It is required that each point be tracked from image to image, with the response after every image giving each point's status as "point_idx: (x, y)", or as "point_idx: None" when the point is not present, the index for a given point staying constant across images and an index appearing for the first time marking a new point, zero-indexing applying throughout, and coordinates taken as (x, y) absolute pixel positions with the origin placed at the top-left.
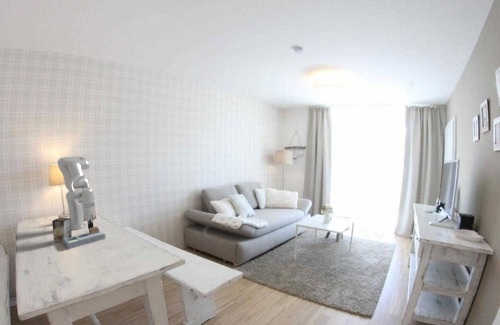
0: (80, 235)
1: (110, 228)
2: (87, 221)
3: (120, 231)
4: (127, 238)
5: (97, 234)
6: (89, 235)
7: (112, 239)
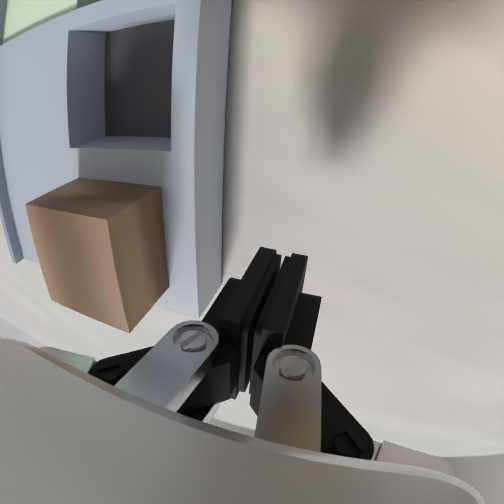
0: (178, 52)
1: None
2: (315, 407)
3: None
4: (7, 297)
5: None
6: (63, 150)
7: None
